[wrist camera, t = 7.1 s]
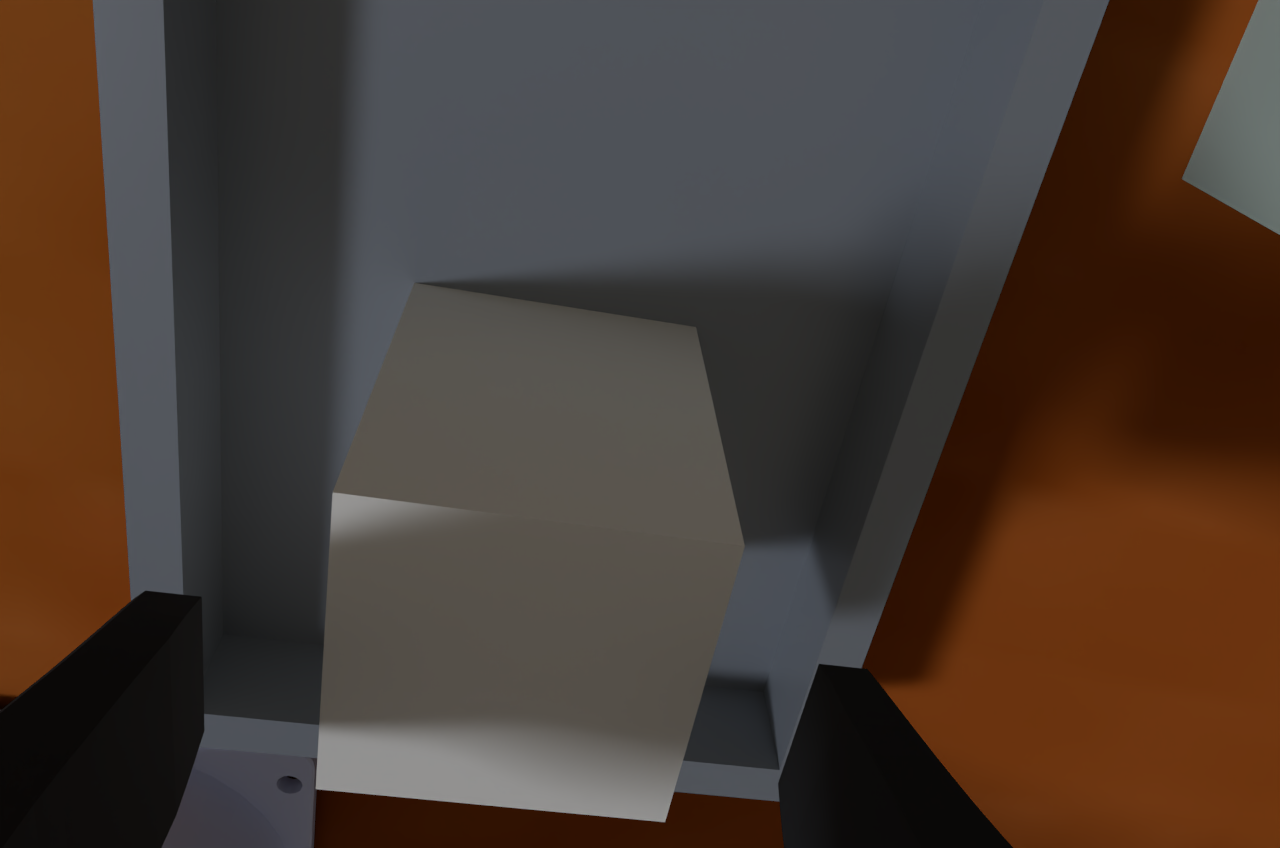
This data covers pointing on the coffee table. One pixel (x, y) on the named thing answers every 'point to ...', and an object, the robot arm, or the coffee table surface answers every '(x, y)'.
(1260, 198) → the sage block
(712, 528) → the cream block
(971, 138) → the grey tray
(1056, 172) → the coffee table surface
